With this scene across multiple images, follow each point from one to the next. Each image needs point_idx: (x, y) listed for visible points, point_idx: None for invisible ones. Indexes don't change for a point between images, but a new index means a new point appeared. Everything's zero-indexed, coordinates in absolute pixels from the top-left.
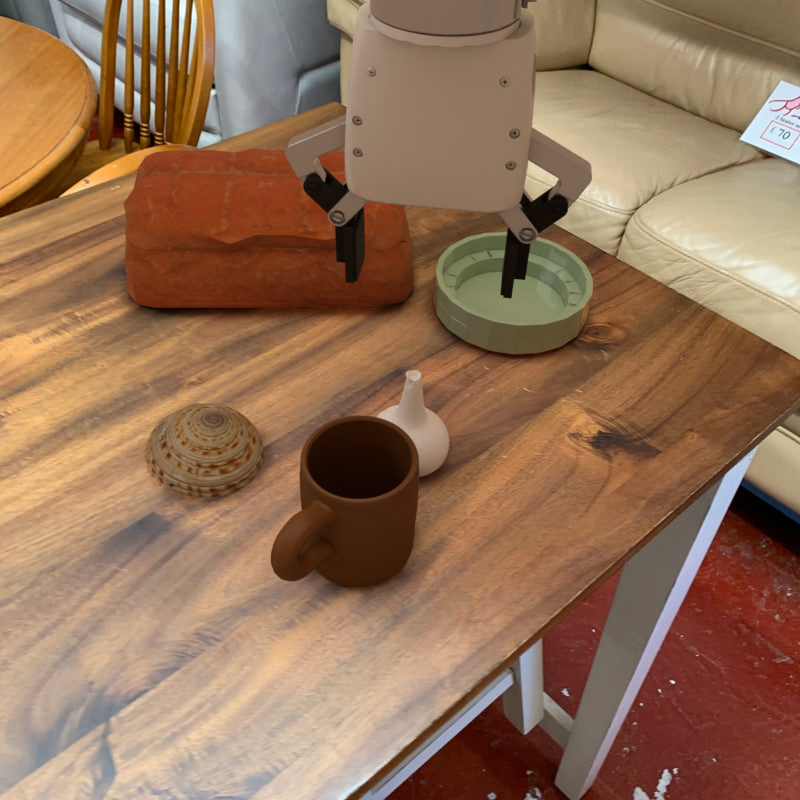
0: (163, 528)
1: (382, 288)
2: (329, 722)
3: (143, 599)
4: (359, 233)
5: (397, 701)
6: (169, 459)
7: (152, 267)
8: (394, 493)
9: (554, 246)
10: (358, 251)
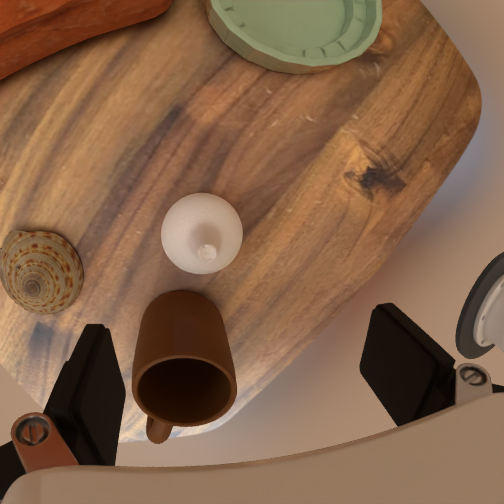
0: (50, 332)
1: (141, 17)
2: None
3: None
4: (105, 430)
5: None
6: (24, 306)
7: None
8: (222, 415)
9: None
10: (114, 417)
